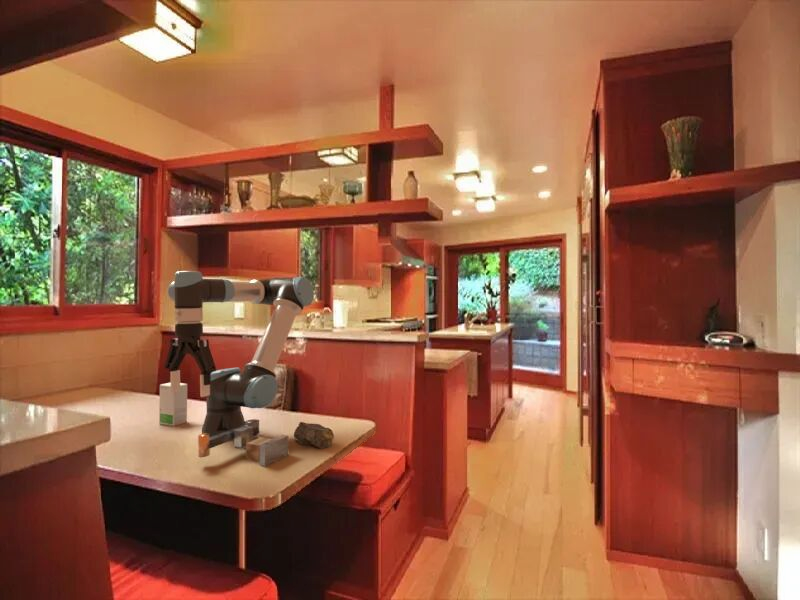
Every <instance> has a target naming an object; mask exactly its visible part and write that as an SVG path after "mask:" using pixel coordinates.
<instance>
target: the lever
mask: <svg viewBox="0 0 800 600" xmlns="http://www.w3.org/2000/svg"><path fill="white" fill-rule="evenodd" d="M244 421H245V425H243V426H240V427H237V428H235V429H232V430H229V431H226V432H223V433H221V434H218V435H215V436H212V437H209V434H208V433H204V434H202V433H201V434H198V435H197V443H198V444H197V445H198V448H197V449H198V452H197V453H198V454H197V455H198V458H206V457H208V456H210V455H211V453H210V451H211V449H212V448H216V447H218V446H220V445H223V444H226V443H228V442H231V441H233V440H234V445H233V446H234V447H235V446H237V447H244V446H246V443H248V442H250V441H252V440H254V438H253V435H256V434H258V435H259V434H260V420H259V419H256V418H255V419H254V418H253V419H248V420H244Z"/></svg>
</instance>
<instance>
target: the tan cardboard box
mask: <svg viewBox="0 0 800 600" xmlns="http://www.w3.org/2000/svg"><path fill="white" fill-rule="evenodd" d="M259 437H260V438H257V439H255V440H252V441H250V442H248V443H246V449H245V455H246V457H245V458H246V459H245V460H250V461H255V462H258V463H260V445H261V444H263V443H265V442H268V441H270V440H272V439H273V438H272V439H271V438H269V439H268V437H264V438H262V437H263V436H259Z"/></svg>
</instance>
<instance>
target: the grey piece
mask: <svg viewBox="0 0 800 600" xmlns="http://www.w3.org/2000/svg"><path fill="white" fill-rule="evenodd" d="M260 437H262V438H265V437H263V436H259V433H258V434H256V435H253V438H254V440H255V439H257V438H260ZM267 438H268V437H267ZM268 439H270V438H268ZM234 448H237V449H241V450H246V446H244V447H237V446H234ZM287 456H289V435H285V434H281V435H279V436H278V437H274V438H272V440H270V441H268V442H265V443H263V444H261V445H260V461H259V466H262V467H267V466H269V465H271V464H273V463H275V462H276V461H279V460H281V459H283V458H285V457H287Z"/></svg>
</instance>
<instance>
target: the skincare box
mask: <svg viewBox="0 0 800 600" xmlns="http://www.w3.org/2000/svg"><path fill="white" fill-rule="evenodd" d="M158 405H159V407H158V408H159V413H158V416H159V418H158V419H159V420H158V424H159V425H166V426H170V427H176V426H178V425H181V424H185V423H187V422H188V421H187V419H188V415H187V414H188V383H183V382H180V392H175V393H171V381H169V382H167V383H161V384H159V404H158Z"/></svg>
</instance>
